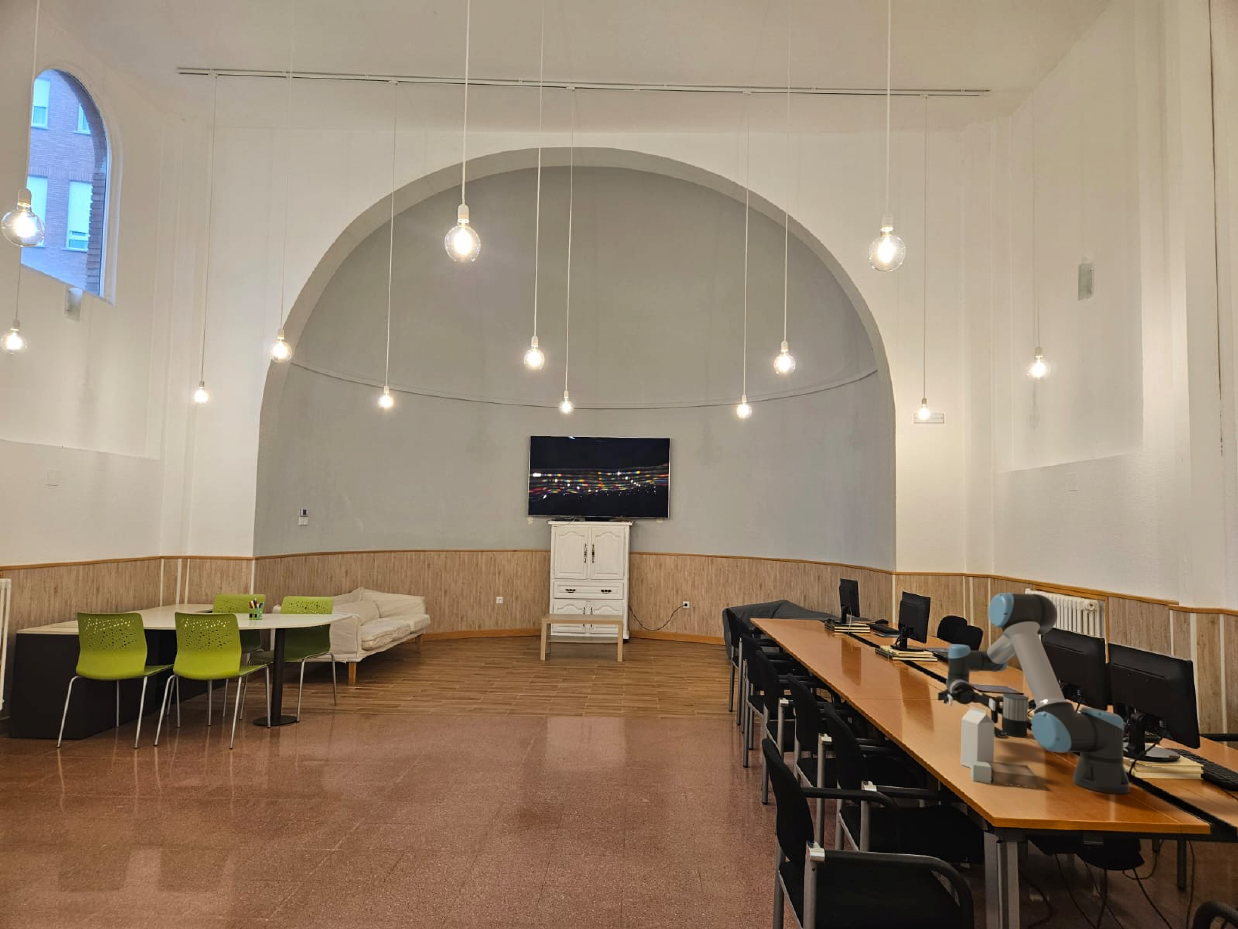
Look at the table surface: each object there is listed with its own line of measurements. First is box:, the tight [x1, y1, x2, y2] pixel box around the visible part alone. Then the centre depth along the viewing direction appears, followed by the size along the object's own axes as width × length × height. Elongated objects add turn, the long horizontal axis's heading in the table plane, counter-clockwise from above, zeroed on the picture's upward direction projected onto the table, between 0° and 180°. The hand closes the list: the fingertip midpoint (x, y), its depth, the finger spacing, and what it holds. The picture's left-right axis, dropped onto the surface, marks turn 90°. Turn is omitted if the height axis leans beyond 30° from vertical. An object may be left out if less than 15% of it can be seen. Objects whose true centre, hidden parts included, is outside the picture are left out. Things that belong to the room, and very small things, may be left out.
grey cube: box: [969, 761, 992, 784], centre depth 257 cm, size 5×5×5 cm
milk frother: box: [990, 693, 1030, 738], centre depth 319 cm, size 14×16×15 cm
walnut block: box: [987, 761, 1037, 788], centre depth 259 cm, size 12×12×4 cm
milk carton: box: [960, 705, 995, 769], centre depth 272 cm, size 7×7×19 cm
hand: (972, 704), depth 282 cm, fingers open, 13 cm apart
